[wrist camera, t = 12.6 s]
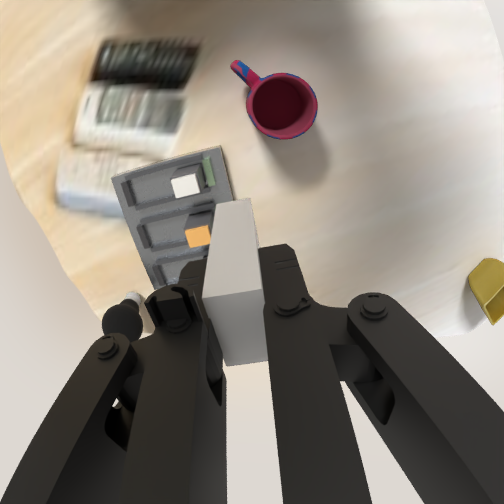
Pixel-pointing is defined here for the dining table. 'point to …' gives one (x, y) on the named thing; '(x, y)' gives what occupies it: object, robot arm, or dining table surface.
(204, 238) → the block
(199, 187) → the breaker
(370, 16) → the dining table surface
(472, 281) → the flower pot
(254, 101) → the mug
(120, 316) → the light bulb
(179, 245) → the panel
